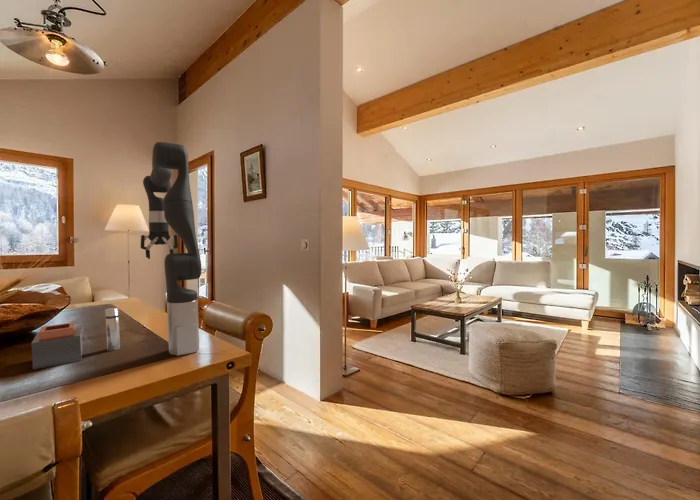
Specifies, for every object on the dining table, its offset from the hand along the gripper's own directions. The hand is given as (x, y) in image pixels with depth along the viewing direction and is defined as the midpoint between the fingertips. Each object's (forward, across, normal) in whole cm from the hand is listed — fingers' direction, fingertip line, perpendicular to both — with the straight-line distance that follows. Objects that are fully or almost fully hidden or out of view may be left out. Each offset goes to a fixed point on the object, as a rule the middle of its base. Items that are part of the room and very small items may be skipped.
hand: (160, 258), depth 145 cm
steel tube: (+29, -19, -28) cm, 44 cm away
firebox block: (+29, -33, -29) cm, 52 cm away
